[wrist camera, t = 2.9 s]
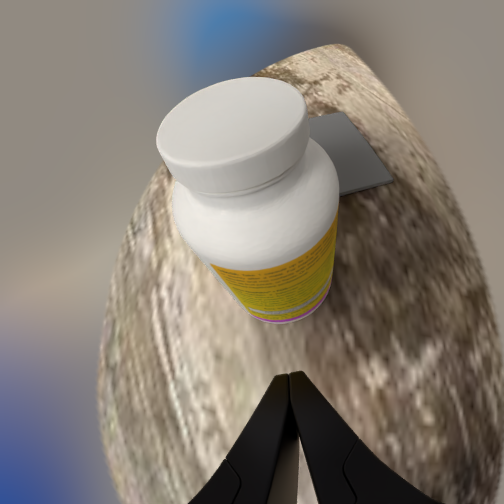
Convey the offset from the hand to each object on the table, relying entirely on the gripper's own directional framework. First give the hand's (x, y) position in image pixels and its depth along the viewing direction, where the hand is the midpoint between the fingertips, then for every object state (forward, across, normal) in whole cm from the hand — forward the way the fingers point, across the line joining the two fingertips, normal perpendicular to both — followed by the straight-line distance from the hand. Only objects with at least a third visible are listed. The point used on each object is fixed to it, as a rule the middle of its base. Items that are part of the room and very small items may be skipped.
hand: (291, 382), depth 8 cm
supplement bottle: (+11, 0, +1) cm, 11 cm away
